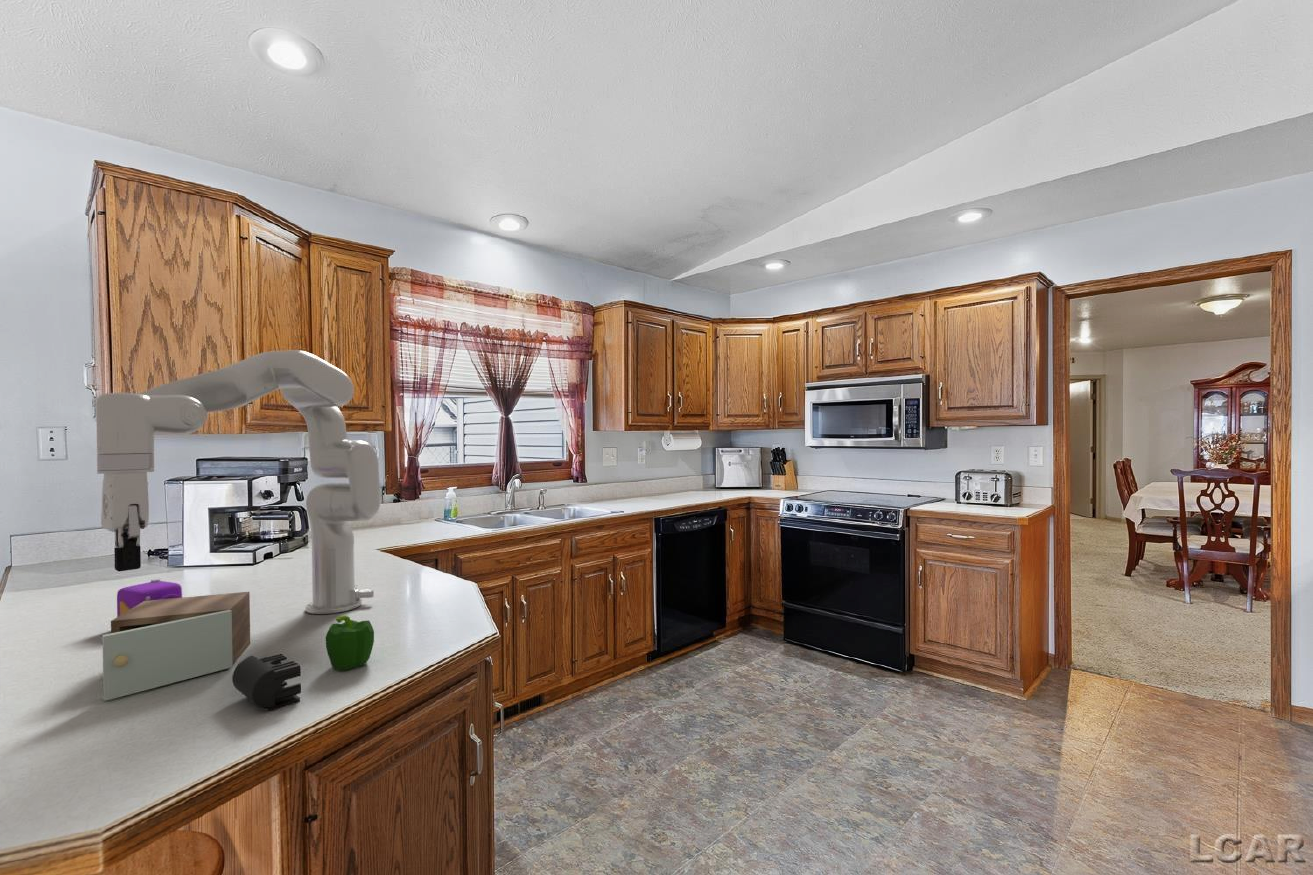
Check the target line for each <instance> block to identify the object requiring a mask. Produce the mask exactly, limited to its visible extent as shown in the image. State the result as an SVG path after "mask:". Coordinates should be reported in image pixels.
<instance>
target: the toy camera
mask: <svg viewBox="0 0 1313 875" xmlns="http://www.w3.org/2000/svg"><path fill="white" fill-rule="evenodd" d="M172 598H183V588H182V585H181V584H180V583H177V582H171V581H166V580H164V581H163V580H161V579H160V578H153V579H151V580H150V581H148V582H145V583H143V582H142V583H139V584H135V585H130V586H126V587H122V588H120V589H119V590H117V594H116V615H117V616H116V618H117V617H118V616H120V615H122V614H123V613H125V612H127V611H128V610H130V609H132V608H133V607H135V606H137V605H138V604H140V603H142V602H143V601H150V600H161V599H172Z"/></svg>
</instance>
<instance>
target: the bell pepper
mask: <svg viewBox="0 0 1313 875" xmlns="http://www.w3.org/2000/svg"><path fill="white" fill-rule="evenodd" d="M335 620H336V622H337V623H332V624H331V625H330V627H329V628H328V630H327V633H326V635H325V649H326V651H327V652H326V653H327V656H328V660H329V661H330V662H329V663H330V665H331V667H332V669H333V670H337V671H348V670H351V669H354V668H355V667H359V666H361V667H362V666H364V665H366V664H367V663H368V661H369V660H370V658H371V655H372V651H373V646H374V643H375V630H374V627H373V625H372V623H371V621H370V620H361V621H357V620H353V619H351V617H350V616H348V615H340V616H338V617H337V618H336V619H335Z"/></svg>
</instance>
